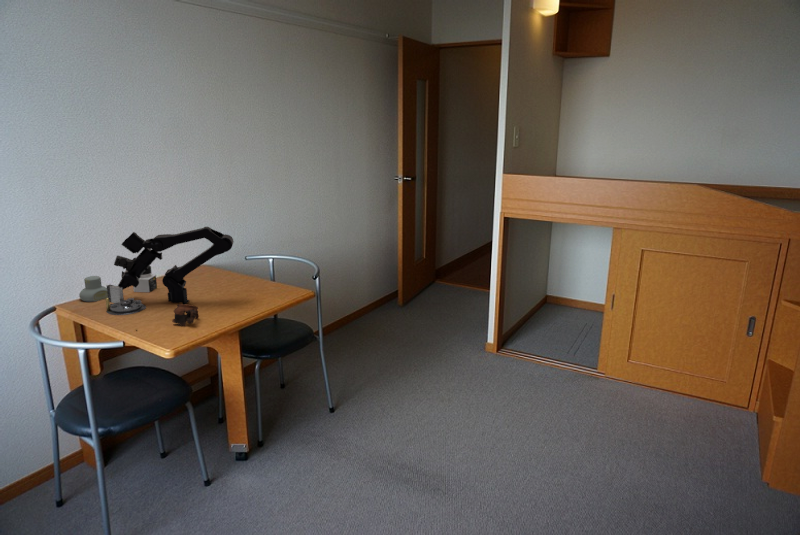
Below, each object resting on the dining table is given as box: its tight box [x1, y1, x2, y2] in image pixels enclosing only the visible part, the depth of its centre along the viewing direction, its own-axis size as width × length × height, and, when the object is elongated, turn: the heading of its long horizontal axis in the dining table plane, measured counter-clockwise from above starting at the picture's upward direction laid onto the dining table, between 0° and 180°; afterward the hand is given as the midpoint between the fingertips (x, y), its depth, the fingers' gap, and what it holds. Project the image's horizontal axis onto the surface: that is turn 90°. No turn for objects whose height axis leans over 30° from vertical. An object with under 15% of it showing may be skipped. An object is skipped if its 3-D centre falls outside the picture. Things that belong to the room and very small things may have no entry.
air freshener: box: [78, 275, 108, 303], centre depth 229 cm, size 11×8×10 cm
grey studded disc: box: [106, 284, 143, 313], centre depth 217 cm, size 14×11×8 cm
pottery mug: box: [171, 303, 200, 327], centre depth 208 cm, size 12×10×8 cm
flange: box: [104, 297, 147, 316], centre depth 217 cm, size 14×14×6 cm
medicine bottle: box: [132, 265, 158, 293], centre depth 241 cm, size 7×7×12 cm
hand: (116, 291), depth 220 cm, fingers closed
